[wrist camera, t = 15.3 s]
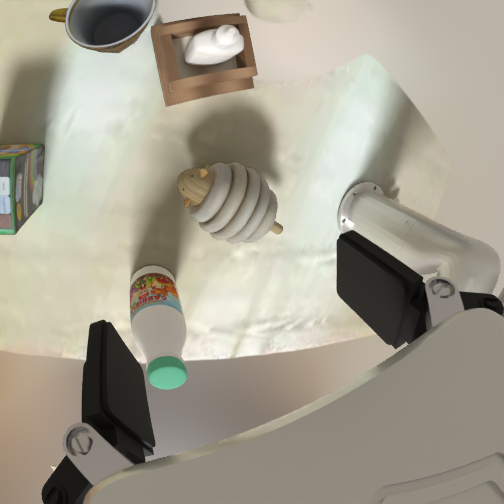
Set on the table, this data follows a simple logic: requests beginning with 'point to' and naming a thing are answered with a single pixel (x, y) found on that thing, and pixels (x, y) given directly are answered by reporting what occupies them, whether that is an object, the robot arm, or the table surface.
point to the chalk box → (19, 184)
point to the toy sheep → (230, 201)
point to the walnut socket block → (198, 77)
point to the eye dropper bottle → (214, 46)
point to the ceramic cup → (105, 22)
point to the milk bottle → (158, 325)
